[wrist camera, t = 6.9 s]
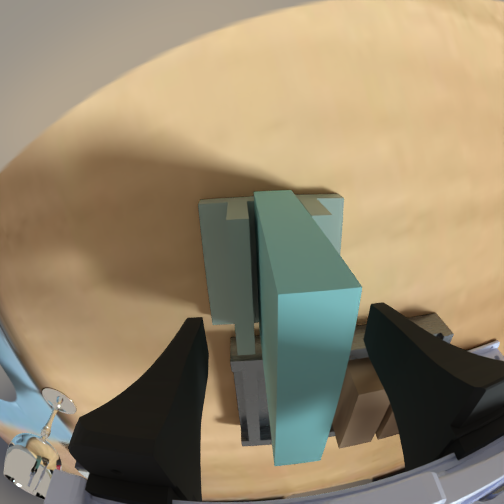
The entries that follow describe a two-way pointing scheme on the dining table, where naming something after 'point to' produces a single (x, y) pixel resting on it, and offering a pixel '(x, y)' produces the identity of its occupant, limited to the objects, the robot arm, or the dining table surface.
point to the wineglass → (36, 451)
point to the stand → (248, 256)
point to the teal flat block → (301, 324)
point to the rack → (254, 387)
